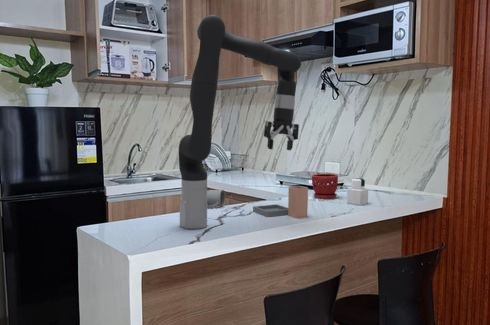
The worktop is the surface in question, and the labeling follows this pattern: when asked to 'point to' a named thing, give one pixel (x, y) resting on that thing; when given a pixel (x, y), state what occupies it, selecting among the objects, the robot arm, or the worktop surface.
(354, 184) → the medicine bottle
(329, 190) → the plant pot
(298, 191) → the cup
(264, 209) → the tray
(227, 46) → the robot arm
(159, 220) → the worktop surface
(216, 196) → the ceramic mug
